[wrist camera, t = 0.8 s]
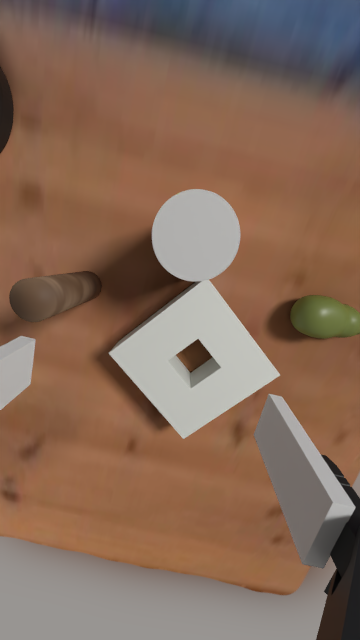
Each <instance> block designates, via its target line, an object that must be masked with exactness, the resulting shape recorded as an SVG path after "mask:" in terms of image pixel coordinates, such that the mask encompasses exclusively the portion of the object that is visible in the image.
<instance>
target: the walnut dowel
mask: <svg viewBox="0 0 360 640" xmlns="http://www.w3.org/2000/svg"><path fill="white" fill-rule="evenodd" d="M101 288H102V285H101V281H100V279H99V277H98V276H97V275H96V274H94V273H93V272H89V271H83V272H75V273H67V274H59V275H51V276H43V277H36V278H28V279H22V280H20V281H18V282H17V283H15V284H14V285H13V287H12V289H11V291H10V296H9V299H10V304H11V307H12V309H13V310H14V312H15V313H16V314H17V315H18V316H19V317H20V318H22V319H24V320H26V321H29V322H39V321H42V320H44V319H47V318H49V317H51V316H54V315H56V314H58V313H61V312H63V311H65V310H68V309H70V308H72V307H75V306H77V305H79V304H82V303H84V302H86V301H89V300H91V299H94V298H96V297H97V296H98V295H99V294H100V292H101Z"/></svg>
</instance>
